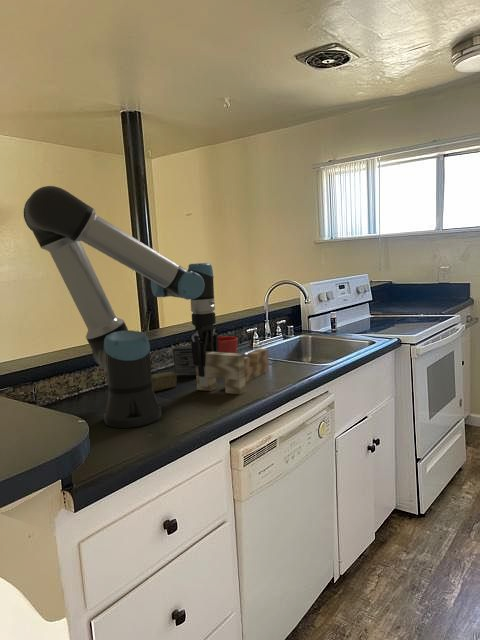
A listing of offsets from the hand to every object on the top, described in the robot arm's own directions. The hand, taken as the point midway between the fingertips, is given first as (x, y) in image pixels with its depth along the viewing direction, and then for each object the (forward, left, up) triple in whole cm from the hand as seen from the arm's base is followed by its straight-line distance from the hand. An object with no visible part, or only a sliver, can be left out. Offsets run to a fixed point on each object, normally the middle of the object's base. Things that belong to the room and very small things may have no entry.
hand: (207, 384), depth 156 cm
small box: (+14, +17, -2) cm, 22 cm away
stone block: (-5, +16, -2) cm, 17 cm away
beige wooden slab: (0, -5, -2) cm, 5 cm away
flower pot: (+35, +15, -2) cm, 38 cm away
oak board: (+17, -6, -2) cm, 18 cm away
